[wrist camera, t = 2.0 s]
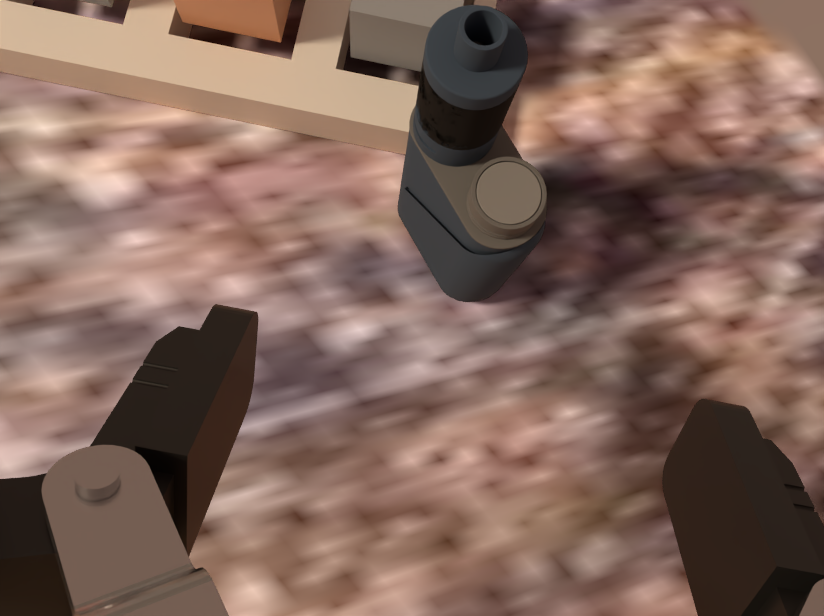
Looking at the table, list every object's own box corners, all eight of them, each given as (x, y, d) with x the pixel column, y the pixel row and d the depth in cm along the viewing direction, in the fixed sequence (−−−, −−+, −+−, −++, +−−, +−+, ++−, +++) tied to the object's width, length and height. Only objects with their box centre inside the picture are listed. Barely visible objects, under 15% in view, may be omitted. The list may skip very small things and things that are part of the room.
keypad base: (496, -18, 29) (506, -52, 27) (462, 166, 28) (470, 144, 26) (49, -113, 29) (26, -155, 27) (-12, 69, 27) (-41, 39, 25)
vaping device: (443, 166, 28) (506, -44, 16) (514, 286, 27) (634, 158, 15) (384, 197, 27) (402, 3, 15) (454, 319, 26) (528, 214, 15)
